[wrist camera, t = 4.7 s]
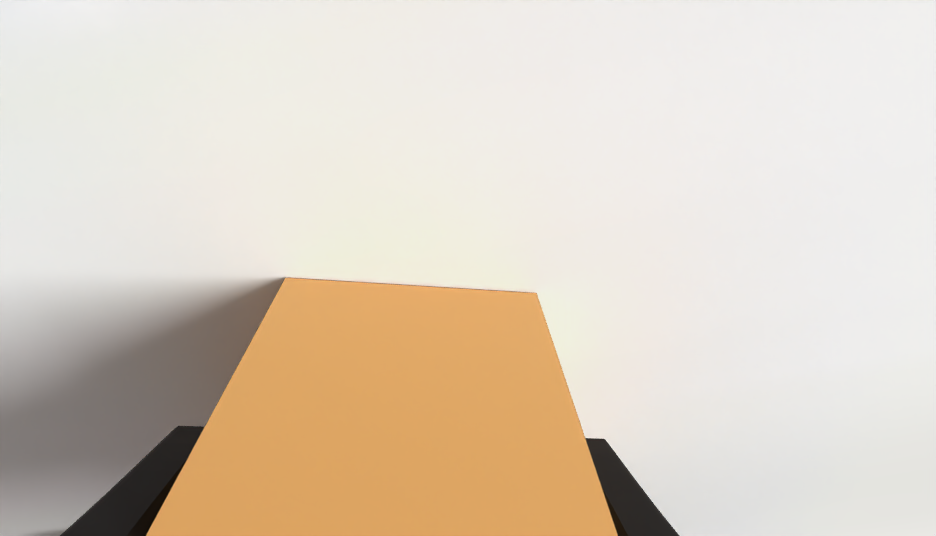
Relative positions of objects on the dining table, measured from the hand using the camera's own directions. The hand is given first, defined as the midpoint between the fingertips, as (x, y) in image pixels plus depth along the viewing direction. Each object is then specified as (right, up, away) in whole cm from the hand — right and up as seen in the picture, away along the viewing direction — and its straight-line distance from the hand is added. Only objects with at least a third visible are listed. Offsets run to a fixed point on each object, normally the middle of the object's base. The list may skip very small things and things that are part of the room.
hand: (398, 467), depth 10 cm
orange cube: (0, +1, +2) cm, 3 cm away
